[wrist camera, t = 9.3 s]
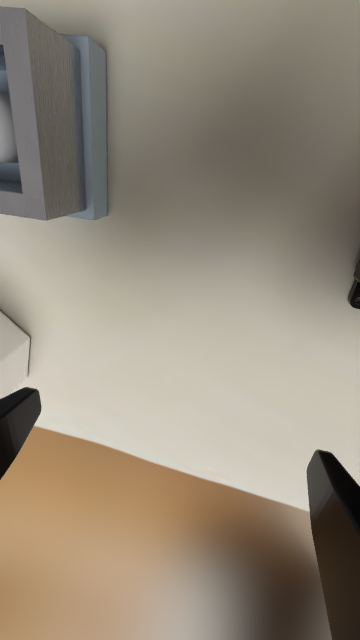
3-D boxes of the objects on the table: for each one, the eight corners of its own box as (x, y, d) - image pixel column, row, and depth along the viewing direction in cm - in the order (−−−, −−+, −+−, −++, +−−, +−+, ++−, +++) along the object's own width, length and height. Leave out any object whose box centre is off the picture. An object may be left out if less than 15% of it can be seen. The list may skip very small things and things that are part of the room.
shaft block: (105, 51, 15) (34, -12, 10) (107, 215, 19) (56, 232, 14) (-36, 40, 16) (-172, -25, 11) (-7, 198, 20) (-97, 209, 14)
